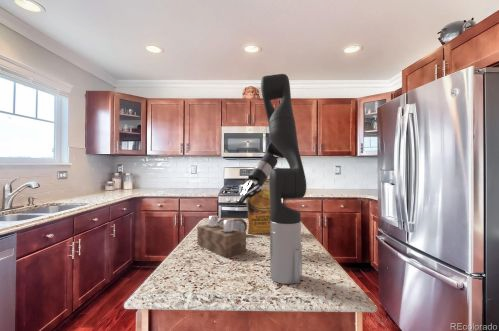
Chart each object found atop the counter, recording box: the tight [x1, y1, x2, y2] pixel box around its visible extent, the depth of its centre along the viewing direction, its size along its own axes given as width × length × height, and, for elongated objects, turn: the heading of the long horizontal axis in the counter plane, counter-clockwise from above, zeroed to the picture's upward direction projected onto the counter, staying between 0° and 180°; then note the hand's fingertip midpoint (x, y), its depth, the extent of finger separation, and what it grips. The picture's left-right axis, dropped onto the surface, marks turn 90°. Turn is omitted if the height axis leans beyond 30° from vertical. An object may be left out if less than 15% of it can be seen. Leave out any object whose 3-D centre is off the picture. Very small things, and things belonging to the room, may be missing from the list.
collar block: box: [196, 224, 247, 259], centre depth 105 cm, size 21×10×8 cm, turn 41°
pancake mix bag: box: [244, 178, 270, 235], centre depth 131 cm, size 7×19×28 cm, turn 103°
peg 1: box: [208, 215, 219, 228], centre depth 109 cm, size 4×4×8 cm
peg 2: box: [224, 219, 234, 233], centre depth 100 cm, size 4×4×8 cm
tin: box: [218, 217, 248, 232], centre depth 126 cm, size 15×3×8 cm, turn 84°
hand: (238, 203), depth 104 cm, fingers closed
